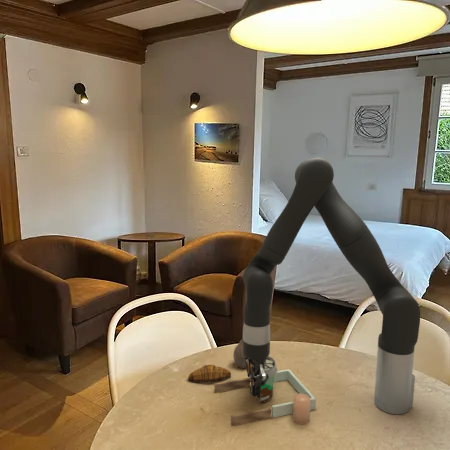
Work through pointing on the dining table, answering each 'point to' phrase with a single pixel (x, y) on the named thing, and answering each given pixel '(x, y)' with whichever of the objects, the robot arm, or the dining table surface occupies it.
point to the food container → (267, 389)
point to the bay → (288, 375)
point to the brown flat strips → (245, 416)
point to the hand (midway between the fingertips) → (255, 395)
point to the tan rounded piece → (301, 408)
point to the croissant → (209, 374)
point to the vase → (239, 355)
